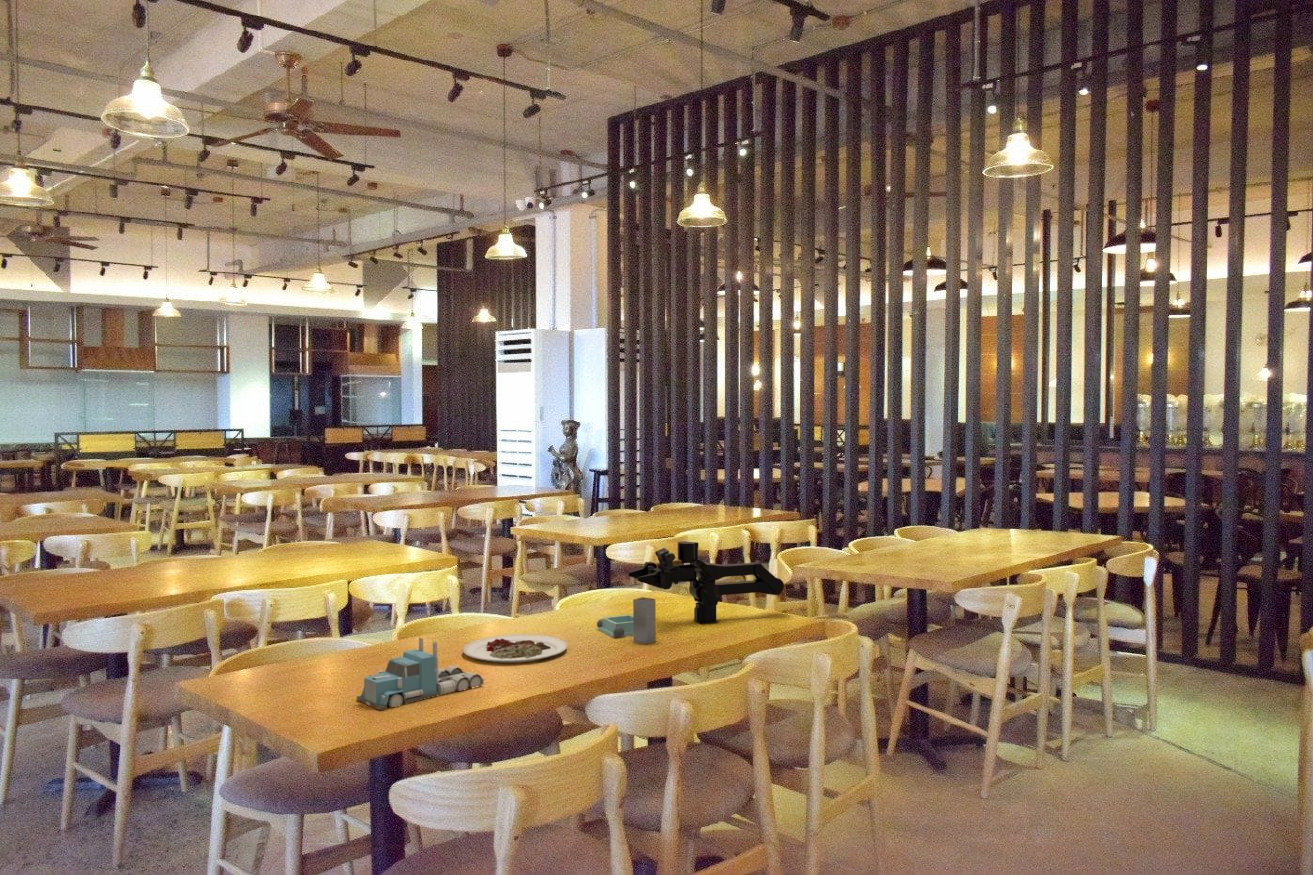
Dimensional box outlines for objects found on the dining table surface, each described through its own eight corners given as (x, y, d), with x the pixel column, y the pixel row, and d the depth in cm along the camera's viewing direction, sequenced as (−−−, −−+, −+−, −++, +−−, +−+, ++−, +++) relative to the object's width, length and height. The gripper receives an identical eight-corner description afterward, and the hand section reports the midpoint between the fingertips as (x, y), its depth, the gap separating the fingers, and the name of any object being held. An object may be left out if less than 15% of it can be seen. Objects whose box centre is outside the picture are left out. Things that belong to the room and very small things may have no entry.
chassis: (631, 625, 312) (631, 613, 312) (650, 634, 300) (650, 621, 300) (596, 629, 306) (596, 617, 306) (614, 638, 294) (614, 625, 294)
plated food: (548, 669, 261) (548, 656, 261) (445, 663, 267) (445, 651, 267) (579, 642, 290) (579, 631, 290) (486, 638, 296) (486, 627, 296)
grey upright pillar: (642, 639, 293) (642, 597, 293) (655, 641, 290) (655, 599, 290) (633, 642, 289) (633, 599, 289) (646, 644, 287) (646, 601, 286)
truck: (355, 702, 233) (354, 640, 232) (457, 678, 253) (457, 621, 252) (380, 713, 224) (379, 649, 224) (483, 687, 244) (483, 629, 244)
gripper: (668, 545, 322) (623, 547, 317) (688, 553, 304) (642, 555, 299) (668, 578, 322) (624, 581, 317) (688, 588, 305) (642, 591, 299)
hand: (632, 576), depth 308 cm, fingers open, 9 cm apart
